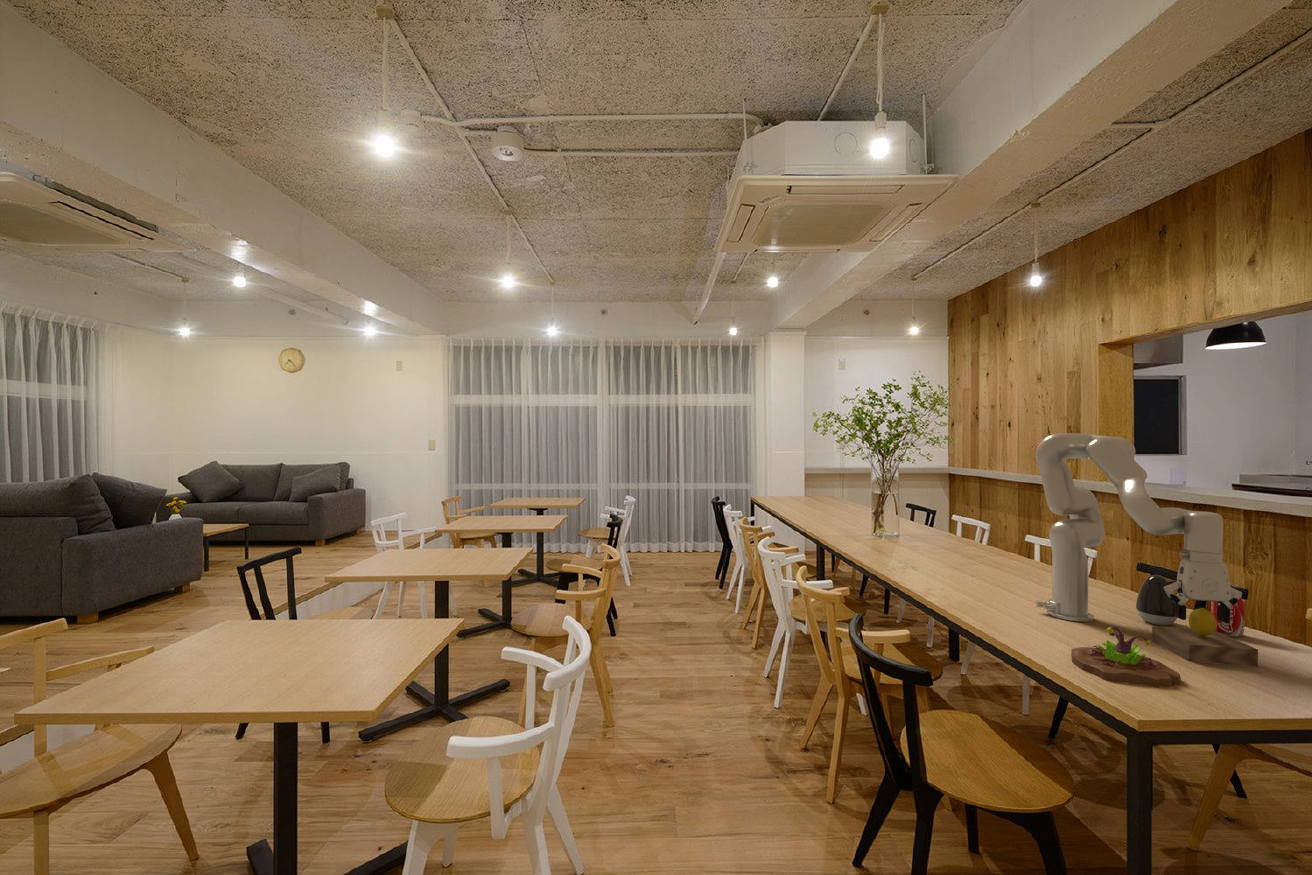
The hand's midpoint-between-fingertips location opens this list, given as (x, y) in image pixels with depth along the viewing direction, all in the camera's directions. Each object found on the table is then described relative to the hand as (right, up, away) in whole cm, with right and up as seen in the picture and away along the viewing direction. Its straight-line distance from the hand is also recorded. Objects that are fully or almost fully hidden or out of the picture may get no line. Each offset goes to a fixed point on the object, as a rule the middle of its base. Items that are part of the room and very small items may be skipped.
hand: (1201, 619), depth 154 cm
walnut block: (0, -10, 0) cm, 10 cm away
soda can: (+22, -9, +15) cm, 29 cm away
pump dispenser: (+10, -9, +25) cm, 29 cm away
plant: (-32, -9, -11) cm, 35 cm away
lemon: (0, -5, 0) cm, 5 cm away
